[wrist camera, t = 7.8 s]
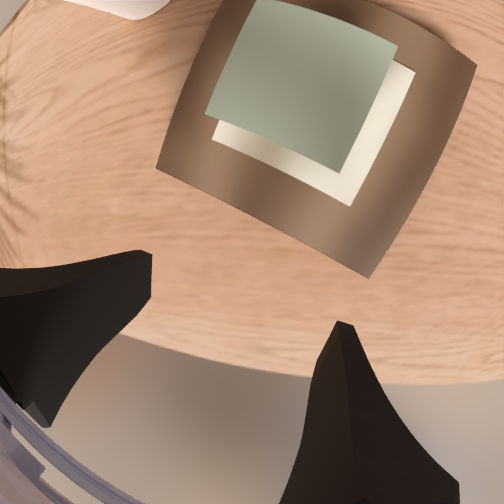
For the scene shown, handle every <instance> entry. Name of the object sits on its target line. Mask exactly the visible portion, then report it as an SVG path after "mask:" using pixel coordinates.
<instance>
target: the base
mask: <svg viewBox="0 0 504 504" xmlns="http://www.w3.org/2000/svg"><path fill="white" fill-rule="evenodd" d="M277 1H281V2H285V3H289V4H292V5H296V6H300V7H303V8H306V9H310V10H313V11H316V12H319V13H322V14H325V15H328V16H331V17H334V18H336V19H339V20H342V21H344V22H347V23H349V24H352V25H354V26H356V27H359V28H361V29H363V30H366V31H368V32H370V33H372V34H375V35H377V36H379V37H381V38H383V39H385V40H387V41H389V42H391V43H393V44H395V45H397V46H398V48H397V51H396V53H395V55H394V58H393V60H392V62H391V65H390V67H389V69H388V72H387V74H386V76H385V78H384V81H383V83H382V85H381V87H380V90H379V92H378V94H377V96H376V98H375V100H374V103H373V105H372V107H371V109H370V111H369V113H368V116H367V118H366V120H365V122H364V124H363V126H362V128H361V130H360V132H359V134H358V137H357V139H356V141H355V143H354V145H353V147H352V149H351V151H350V153H349V155H348V157H347V159H346V161H345V163H344V165H343V167H342V169H341V171H340V173H339V174H338V173H336V172H335V171H333V170H331V169H329V168H327V167H325V166H323V165H321V164H319V163H317V162H315V161H313V160H311V159H309V158H307V157H305V156H303V155H301V154H299V153H297V152H295V151H292V150H290V149H288V148H286V147H284V146H282V145H279V144H277V143H275V142H273V141H270V140H268V139H266V138H264V137H261V136H259V135H257V134H254V133H252V132H250V131H247V130H245V129H242V128H240V127H237V126H235V125H232V124H230V123H227V122H224V121H222V120H219V119H217V118H214V117H211V116H208V115H206V114H205V112H206V109H207V107H208V104H209V102H210V99H211V97H212V94H213V92H214V89H215V87H216V85H217V82H218V80H219V77H220V75H221V73H222V71H223V68H224V66H225V64H226V61H227V59H228V57H229V55H230V53H231V50H232V48H233V46H234V44H235V42H236V40H237V38H238V36H239V34H240V32H241V29H242V27H243V25H244V23H245V21H246V19H247V17H248V16H249V14H250V12H251V10H252V8H253V6H254V4H255V2H256V0H224V1H223V2H222V4H221V6H220V8H219V10H218V12H217V14H216V16H215V18H214V20H213V22H212V24H211V26H210V28H209V30H208V32H207V34H206V36H205V38H204V40H203V42H202V44H201V47H200V49H199V51H198V53H197V56H196V58H195V60H194V62H193V65H192V67H191V69H190V72H189V74H188V77H187V79H186V82H185V84H184V87H183V89H182V92H181V94H180V97H179V100H178V102H177V105H176V108H175V110H174V113H173V116H172V119H171V122H170V125H169V128H168V130H167V133H166V136H165V140H164V143H163V146H162V149H161V152H160V155H159V159H158V162H157V165H156V169H158V170H160V171H162V172H164V173H166V174H168V175H170V176H172V177H174V178H177V179H179V180H181V181H183V182H185V183H187V184H189V185H191V186H193V187H195V188H197V189H199V190H201V191H203V192H205V193H207V194H209V195H211V196H213V197H215V198H217V199H219V200H221V201H223V202H225V203H227V204H229V205H231V206H233V207H235V208H237V209H239V210H241V211H243V212H245V213H247V214H249V215H251V216H253V217H255V218H256V219H258V220H260V221H262V222H264V223H266V224H268V225H270V226H272V227H274V228H276V229H278V230H279V231H281V232H283V233H285V234H287V235H289V236H291V237H293V238H295V239H296V240H298V241H300V242H302V243H304V244H306V245H308V246H310V247H311V248H313V249H315V250H317V251H319V252H321V253H322V254H324V255H326V256H328V257H330V258H332V259H333V260H335V261H337V262H339V263H341V264H342V265H344V266H346V267H348V268H350V269H351V270H353V271H355V272H357V273H359V274H360V275H362V276H364V277H366V278H368V279H369V277H370V276H371V275H372V273H373V272H374V270H375V269H376V267H377V266H378V264H379V263H380V261H381V260H382V258H383V257H384V255H385V253H386V252H387V250H388V249H389V247H390V246H391V244H392V242H393V241H394V239H395V238H396V236H397V234H398V233H399V231H400V230H401V228H402V226H403V225H404V223H405V221H406V219H407V218H408V216H409V214H410V213H411V211H412V209H413V207H414V206H415V204H416V202H417V200H418V198H419V197H420V195H421V193H422V191H423V189H424V187H425V186H426V184H427V182H428V180H429V178H430V176H431V174H432V172H433V170H434V168H435V166H436V164H437V162H438V160H439V158H440V156H441V154H442V152H443V150H444V148H445V145H446V143H447V141H448V139H449V137H450V134H451V132H452V130H453V128H454V125H455V123H456V121H457V118H458V116H459V113H460V111H461V109H462V106H463V103H464V101H465V98H466V96H467V93H468V90H469V88H470V85H471V82H472V79H473V76H474V73H475V70H476V67H477V64H475V63H474V62H473V61H471V60H470V59H469V58H467V57H466V56H465V55H463V54H462V53H461V52H459V51H458V50H456V49H455V48H453V47H452V46H451V45H449V44H448V43H446V42H445V41H443V40H441V39H440V38H438V37H437V36H435V35H434V34H432V33H430V32H429V31H427V30H425V29H423V28H422V27H420V26H418V25H416V24H415V23H413V22H411V21H409V20H407V19H405V18H403V17H402V16H400V15H398V14H396V13H394V12H391V11H389V10H387V9H385V8H383V7H381V6H379V5H376V4H374V3H372V2H369V1H367V0H277Z"/></svg>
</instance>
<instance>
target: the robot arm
mask: <svg viewBox="0 0 504 504" xmlns="http://www.w3.org/2000/svg"><path fill="white" fill-rule="evenodd" d="M151 275H152V254H150V253H147V252H145V251H142V250H133V251H127V252H123V253H118V254H113V255H109V256H105V257H100V258H96V259H92V260H87V261H82V262H77V263H72V264H67V265H60V266H53V267H44V268H23V269H12V268H0V504H74V503H72V502H71V501H70V500H68V499H67V498H66V497H64V496H63V495H62V494H61V493H59V492H58V491H57V490H56V489H54V488H53V487H52V486H51V485H50V484H48V483H47V482H46V481H45V480H44V479H43V478H42V477H40V475H41V474H42V473H43V472H44V471H45V467H44V466H43V465H42V464H41V463H40V462H39V461H38V460H37V459H36V458H35V457H34V456H33V455H32V454H31V453H30V452H29V451H28V450H27V449H26V448H25V447H24V446H23V445H22V444H21V443H20V442H19V441H18V440H17V439H16V438H15V437H14V436H13V434H12V433H11V428H12V427H11V424H12V425H13V427H14V428H15V429H16V430H17V431H18V432H19V433H20V434H21V435H22V436H23V437H24V438H25V439H26V440H27V441H28V442H29V443H30V444H31V445H32V446H33V447H34V448H35V449H36V450H37V451H38V452H39V453H40V454H41V455H42V456H43V457H44V458H46V459H47V460H48V461H49V462H50V463H51V464H52V465H53V466H55V467H56V468H57V469H58V470H59V471H60V472H62V473H63V474H64V475H65V476H67V477H68V478H69V479H70V480H72V481H73V482H74V483H76V484H77V485H78V486H80V487H81V488H82V489H84V490H85V491H86V492H88V493H89V494H91V495H92V496H94V497H95V498H97V499H98V500H100V501H101V502H102V503H104V504H144V503H142V502H140V501H139V500H137V499H135V498H133V497H131V496H130V495H128V494H126V493H125V492H123V491H121V490H120V489H118V488H116V487H115V486H113V485H111V484H110V483H108V482H107V481H105V480H104V479H102V478H101V477H99V476H98V475H96V474H95V473H93V472H92V471H91V470H89V469H88V468H86V467H85V466H83V465H82V464H81V463H80V462H78V461H77V460H76V459H74V458H73V457H72V456H71V455H69V454H68V453H67V452H66V451H64V450H63V449H62V448H61V447H60V446H58V445H57V444H56V443H55V442H54V441H53V440H52V439H50V438H49V437H48V436H47V435H46V434H45V433H44V432H43V431H42V430H41V429H40V428H38V427H37V426H36V425H35V424H34V423H33V422H32V421H31V420H30V419H29V418H28V417H27V416H26V415H25V414H24V413H23V412H22V411H21V409H20V408H18V406H17V405H16V403H17V404H18V405H19V406H20V407H21V408H22V409H23V410H25V411H26V412H27V413H28V414H29V415H30V416H31V417H32V418H33V419H34V420H35V421H36V422H37V423H38V424H39V425H40V426H41V427H44V428H49V427H51V425H52V423H53V421H54V419H55V417H56V415H57V413H58V411H59V409H60V407H61V405H62V403H63V402H64V400H65V399H66V397H67V395H68V394H69V392H70V390H71V388H72V387H73V386H74V384H75V383H76V381H77V380H78V378H79V377H80V376H81V374H82V373H83V371H84V370H85V369H86V367H87V366H88V365H89V364H90V362H91V361H92V360H93V359H94V357H95V356H96V355H97V353H99V352H100V351H101V349H102V348H103V347H104V346H105V345H107V344H108V343H109V342H110V341H111V340H112V339H113V338H114V337H115V336H116V335H117V334H118V333H119V332H120V331H121V330H122V329H123V328H124V327H125V326H126V325H127V324H128V323H129V322H130V321H131V320H133V319H134V318H135V317H136V316H137V314H138V313H139V312H140V311H141V310H142V308H143V307H144V306H145V304H146V303H147V302H148V300H149V299H150V298H151ZM279 504H460V493H459V483H458V481H457V480H455V479H454V478H453V477H452V476H451V475H450V474H449V473H448V472H447V471H445V470H444V469H443V468H442V467H441V466H440V465H439V464H438V463H437V462H436V461H435V460H434V459H433V458H432V457H431V456H430V455H429V454H428V453H427V451H426V450H425V449H424V448H423V447H422V446H421V445H420V443H419V442H418V441H417V440H416V439H415V437H414V436H413V435H412V434H411V432H410V431H409V430H408V428H407V427H406V426H405V424H404V423H403V421H402V420H401V419H400V417H399V416H398V414H397V413H396V411H395V409H394V408H393V406H392V405H391V403H390V402H389V400H388V398H387V396H386V395H385V393H384V391H383V389H382V387H381V385H380V383H379V381H378V380H377V378H376V376H375V373H374V371H373V369H372V367H371V365H370V363H369V361H368V359H367V356H366V354H365V352H364V349H363V347H362V345H361V342H360V340H359V338H358V335H357V333H356V331H355V328H354V326H353V325H350V324H347V323H344V322H341V321H337V322H336V324H335V326H334V328H333V330H332V332H331V334H330V336H329V338H328V340H327V342H326V344H325V346H324V348H323V350H322V352H321V354H320V355H319V357H318V359H317V362H316V365H315V369H314V373H313V377H312V381H311V386H310V391H309V398H308V405H307V411H306V418H305V424H304V429H303V435H302V439H301V444H300V448H299V451H298V454H297V457H296V460H295V463H294V466H293V469H292V472H291V475H290V477H289V480H288V483H287V485H286V488H285V491H284V493H283V495H282V498H281V500H280V503H279Z"/></svg>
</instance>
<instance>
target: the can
mask: <svg viewBox="0 0 504 504" xmlns="http://www.w3.org/2000/svg"><path fill="white" fill-rule="evenodd" d="M65 1H69V2H73V3H77V4H81V5H85V6H89V7H92V8H96V9H99V10H102V11H105V12H109V13H112V14H115V15H118V16H121V17H124V18H127V19H131V20H138V19H143V18H146V17H148V16H150V15H152V14H154V13H156V12H158V11H159V10H161V9H162V8H164V7H165V6H166V5H167V4H168V3H170V2H171V1H172V0H65Z"/></svg>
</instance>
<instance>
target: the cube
mask: <svg viewBox="0 0 504 504" xmlns="http://www.w3.org/2000/svg"><path fill="white" fill-rule="evenodd" d="M397 48H398V46H397V45H395V44H393V43H391V42H389V41H387V40H385V39H383V38H381V37H379V36H377V35H375V34H372V33H370V32H368V31H366V30H363V29H361V28H359V27H356V26H354V25H352V24H349V23H347V22H344V21H342V20H339V19H336V18H334V17H331V16H328V15H325V14H322V13H319V12H316V11H313V10H310V9H306V8H303V7H300V6H296V5H292V4H289V3H285V2H281V1H277V0H256V2H255V4H254V6H253V8H252V10H251V12H250V14H249V16H248V17H247V19H246V21H245V23H244V25H243V27H242V29H241V32H240V34H239V36H238V38H237V40H236V42H235V44H234V46H233V48H232V50H231V53H230V55H229V57H228V59H227V61H226V64H225V66H224V68H223V71H222V73H221V75H220V77H219V80H218V82H217V85H216V87H215V89H214V92H213V94H212V97H211V99H210V102H209V104H208V107H207V109H206V112H205V114H206V115H208V116H211V117H214V118H217V119H219V120H222V121H224V122H227V123H230V124H232V125H235V126H237V127H240V128H242V129H245V130H247V131H250V132H252V133H254V134H257V135H259V136H261V137H264V138H266V139H268V140H270V141H273V142H275V143H277V144H279V145H282V146H284V147H286V148H288V149H290V150H292V151H295V152H297V153H299V154H301V155H303V156H305V157H307V158H309V159H311V160H313V161H315V162H317V163H319V164H321V165H323V166H325V167H327V168H329V169H331V170H333V171H335V172H336V173H338V174H339V173H340V171H341V169H342V167H343V165H344V163H345V161H346V159H347V157H348V155H349V153H350V151H351V149H352V147H353V145H354V143H355V141H356V139H357V137H358V134H359V132H360V130H361V128H362V126H363V124H364V122H365V120H366V118H367V116H368V113H369V111H370V109H371V107H372V105H373V103H374V100H375V98H376V96H377V94H378V92H379V90H380V87H381V85H382V83H383V81H384V78H385V76H386V74H387V72H388V69H389V67H390V65H391V62H392V60H393V58H394V55H395V53H396V51H397Z"/></svg>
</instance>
